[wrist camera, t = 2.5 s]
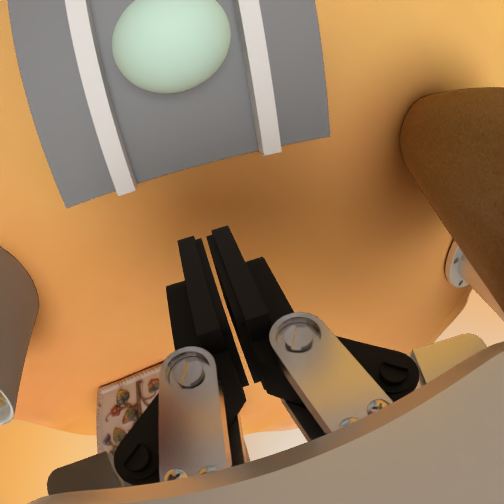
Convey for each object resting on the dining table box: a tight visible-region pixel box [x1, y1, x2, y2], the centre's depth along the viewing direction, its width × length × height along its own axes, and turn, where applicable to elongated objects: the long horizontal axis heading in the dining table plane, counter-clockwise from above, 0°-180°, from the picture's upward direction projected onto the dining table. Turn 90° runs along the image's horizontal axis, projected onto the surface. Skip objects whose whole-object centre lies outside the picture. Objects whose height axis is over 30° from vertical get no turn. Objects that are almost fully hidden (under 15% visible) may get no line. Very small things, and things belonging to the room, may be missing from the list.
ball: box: [112, 0, 231, 93], centre depth 11 cm, size 5×5×5 cm
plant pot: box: [400, 87, 504, 312], centre depth 16 cm, size 15×15×16 cm
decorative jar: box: [96, 363, 250, 463], centre depth 25 cm, size 12×12×18 cm
